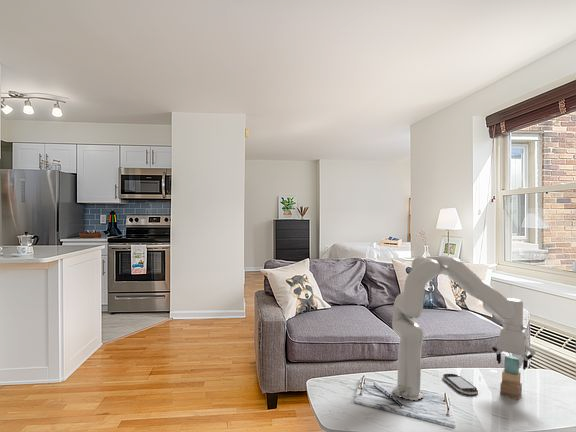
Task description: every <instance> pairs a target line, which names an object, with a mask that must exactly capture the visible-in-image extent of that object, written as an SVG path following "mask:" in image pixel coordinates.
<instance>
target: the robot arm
mask: <svg viewBox="0 0 576 432" xmlns="http://www.w3.org/2000/svg"><path fill="white" fill-rule="evenodd" d="M438 275H445V276H448V277H449V278H450V279H451V280H452V281H453V282H454V283H456V284H457V285H458V287H460V289H462V290H463V291H464V292H466V293H467V294H468V295H470V296H471V297H473V298H475V299H477V300H479V301H480V302H482V307H483V310H485V311H486V313H488V314H491V315H494V316H496V317H498V318H500V319H502V327H501V328H500V332H499V337H498V339H497V340H494V341H491V342H490V343H489V345H490V346H491V349H492V350H493V351H494V352H495V354H496V361H497V364H501V363H502V352H504V353H507V354H508V353H509V354H512V355H518V356H521V357H522V358H523V360H522V363H523V364H522V370H523V371H526V368H527V369H528V367H529V365H528V364H529V360H531V359H532V358H533V357H534V356H535V355H536V350H534V349H533V348H531V347H529V346H528V345H527V338H526V337H527V336H526V331H527V326H525V325H524V321H523V320H524V302H523V301H522V300H521V299H519V298H514V297H513V298H512V297H505V296H504V295H503V294H502V293H501V292H500V291H498V290H496V289H495V288H494V287H493V286H491V285H490V284H489V283H487V281H485V280H483V279H482V278H480V277H479V276H478V275H477V274H476V273H475V272H474V271H473V270H471V269H470V267H468V266H467V265H466V263H464V262H463V261H461V259H459V258H456V257H452V256H448V255H447V256H446V255H438V256H437V255H435V256H432V255H430V256H427V255H425V256H417V257H415V258H414V259H413V260H412V262H411V271H410V272H408V274H407V276H406V278H405V282H404V286H403V292H401V293H399V294H398V295H397V296H396V297H395V299H394V302H393V310H392V319H391V322H392V323H391V324H392V330H393V332H394V333H395V335H397V336H398V337H399V344H398V348H397V378H396V379H397V381H396V383H397V384H396V386H394V387H393V394H394V393H395V394H394V395H395V396H396V397H398V396H401V397H403V398H406V399H410V400H409V401H413V400H415V401H419V400H418V399H421V398H423V399H424V397H425V393H424V391H423V390H422V389H421V370H422V366H421V365H422V348H423V341H424V332H423V329H422V327H421V326H420V325H419V324H418V323H417V322H416V321H414V319H416V320H417V319H418V318H420V317H421V316H422V314H423V309H424V298H425V291H426V287H427V284H428V283H429V282H430V281H431V280H432V279H435V278H436V277H437V276H438ZM524 330H525V331H524ZM495 345H498V348H497V347H496V346H495ZM527 351H528V352H530V354H529V355H527V354H526V353H527ZM406 399H405V400H406ZM421 400H422V399H421Z"/></svg>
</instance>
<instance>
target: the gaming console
mask: <svg viewBox="0 0 576 432" xmlns="http://www.w3.org/2000/svg"><path fill="white" fill-rule="evenodd" d="M442 379H443V380H444V382H446V383H447V384H448V385H449V386H451V387H452V388H453V390H456V391H457V392H458V394H459V393H460V394H461V395H465V396H476V395H478V394H479V390H478V389H477V387H476V386H474V385H473V384H472V383H470V382H469V381H468V380H466V379H465V378H464V377H462V376H459V375H458V374H455V373H444V374H442Z"/></svg>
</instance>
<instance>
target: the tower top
mask: <svg viewBox="0 0 576 432" xmlns="http://www.w3.org/2000/svg"><path fill="white" fill-rule="evenodd" d="M501 382H502V384H506V385H509V386H513V387H517V388H518V386H519V385H520V383H521V371H519V374H510V373H507V372H505V371H504V369H503V370H502V372H501Z"/></svg>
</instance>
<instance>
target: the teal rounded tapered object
mask: <svg viewBox="0 0 576 432" xmlns="http://www.w3.org/2000/svg"><path fill="white" fill-rule="evenodd" d="M503 365H504V367H503V370H504V371H505V372H507V373H510V374H519V372H520V358H518V357H515V356H512V355H505V356H504V364H503Z"/></svg>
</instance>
